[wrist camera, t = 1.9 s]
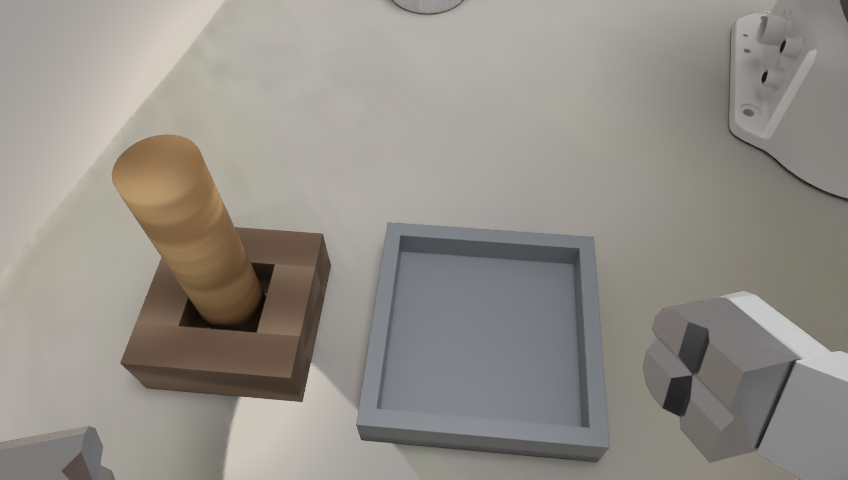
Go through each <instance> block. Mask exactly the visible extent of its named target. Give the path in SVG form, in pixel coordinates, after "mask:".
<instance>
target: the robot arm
mask: <svg viewBox="0 0 848 480" xmlns="http://www.w3.org/2000/svg"><path fill="white" fill-rule="evenodd" d="M729 128H730V130H731V132H732V133H733V134H734V135H736V136H737V137H738V138H740V139H742V140H744V141H746V142H748V143H750V144H752V145H754V146H756V147H758V148H761V149H763V150H765V151H766V152H768V153H769V154H770V155H772V156H773V157H774V158H775V159H776V160H778V161H779V162H780V163H781V164H782V165H783V166H785V167H786V168H787V169H788V170H790V171H791V172H792V173H794V174H795V175H796V176H798V177H800V178H801V179H803V180H804V181H806V182H808V183H810V184H812V185H814V186H816V187H818V188H820V189H822V190H824V191H827V192H829V193H832V194H835V195H838V196H841V197H844V198H848V0H778V1H777V2H776V4H775V6H774V8H773V9H772V10H771V11H763V12H757V13H753V14H749V15H746V16H743V17H741V18H739V19H738V20H737V21H736V22H735V24H734V25H733V27H732V32H731V68H730V109H729ZM652 330H653V332H654V334H655V335H656V337H657V339H656V340H655V342H654V343H653V344H652V345H651V346H650V347H649V349H648V350H647V351H646V355H645V360H644V364H643V371H644V376H645V381H646V385H647V387H648V389H649V391H650V393H651V394H652V396H653V398H654V399H655V400H656V401H657V402H658V404H659V405H660V406H661V407H662V408H663V409H665V410H667V411H669V412H671V413H673V414H675V415H678V416H680V427H681V430H682V431H683V433H684V434H685V435H686V436H687V437H688V438H689V439H690V441H691V442H692V443H693V444H694V445H695V446H696V447H697V449H698V450H699V451H700V452H701V453H702V454H703V455H704V457H705V458H706V459H707V460H708V461H709V462H714V461H718V460H722V459H725V458H729V457H733V456H737V455H741V454H745V453H749V452H753V451H757V450H758V451H757V454H758V455H760V456H762V457H763V458H765V459H767V460H769V461H770V462H772V463H774V464H775V465H777V466H779V467H780V468H782V469H784V470H786V471H787V472H789V473H791V474H792V475H794V476H796V477H798V478H799V479H801V480H848V353H845V352H842V351H835V352H830V351H829V350H828V349H826V348H825V347H824V346H823V345H821V344H820V343H819V342H817V341H816V340H815V339H813V338H812V337H811V336H809V335H808V334H807V333H805V332H804V331H803V330H801V329H800V328H799V327H797V326H796V325H795V324H793V323H792V322H791V321H789V320H788V319H787V318H785V317H784V316H783V315H781V314H780V313H779V312H777V311H776V310H775V309H773V308H772V307H771V306H770V305H768V304H767V303H766V302H764V301H763V300H762V299H760V298H759V297H758V296H756V295H755V294H752V293H749V292H745V291H741V292H736V293H732V294H727V295H723V296H718V297H716V298H710V299H705V300H701V301H696V302H691V303H687V304H682V305H677V306H673V307H668V308H663V309H662V310H661V311H660V312H659V313H658V314H657V316H656V317H655V321H654V324H653V328H652ZM102 450H103V445H102V443H101V441H100V438H99V436H98V434H97V431H96V429H95V428H93V427H90V426H87V427H82V428H76V429H71V430H65V431H60V432H54V433H49V434H43V435H38V436H32V437H27V438H21V439H16V440H10V441H5V442H0V480H115V478H114V475H113V473H112V471H111V470H109V469H107V468H105V467H103V466H101V465H100V464H101V457H102Z"/></svg>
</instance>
